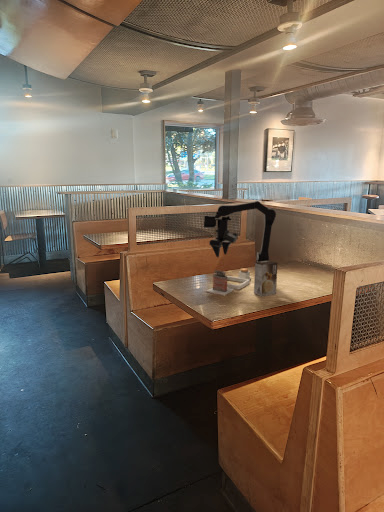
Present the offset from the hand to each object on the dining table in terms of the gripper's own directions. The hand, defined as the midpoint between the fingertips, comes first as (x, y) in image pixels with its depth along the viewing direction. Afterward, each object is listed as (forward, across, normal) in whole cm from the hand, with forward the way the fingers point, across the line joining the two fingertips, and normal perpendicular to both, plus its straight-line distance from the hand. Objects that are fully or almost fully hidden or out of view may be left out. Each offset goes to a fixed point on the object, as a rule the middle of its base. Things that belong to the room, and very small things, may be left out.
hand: (221, 255), depth 202 cm
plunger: (+11, +5, -12) cm, 17 cm away
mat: (+13, -21, -10) cm, 27 cm away
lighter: (+13, -21, -10) cm, 27 cm away
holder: (+13, -3, -11) cm, 17 cm away
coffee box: (+13, -12, -31) cm, 35 cm away
